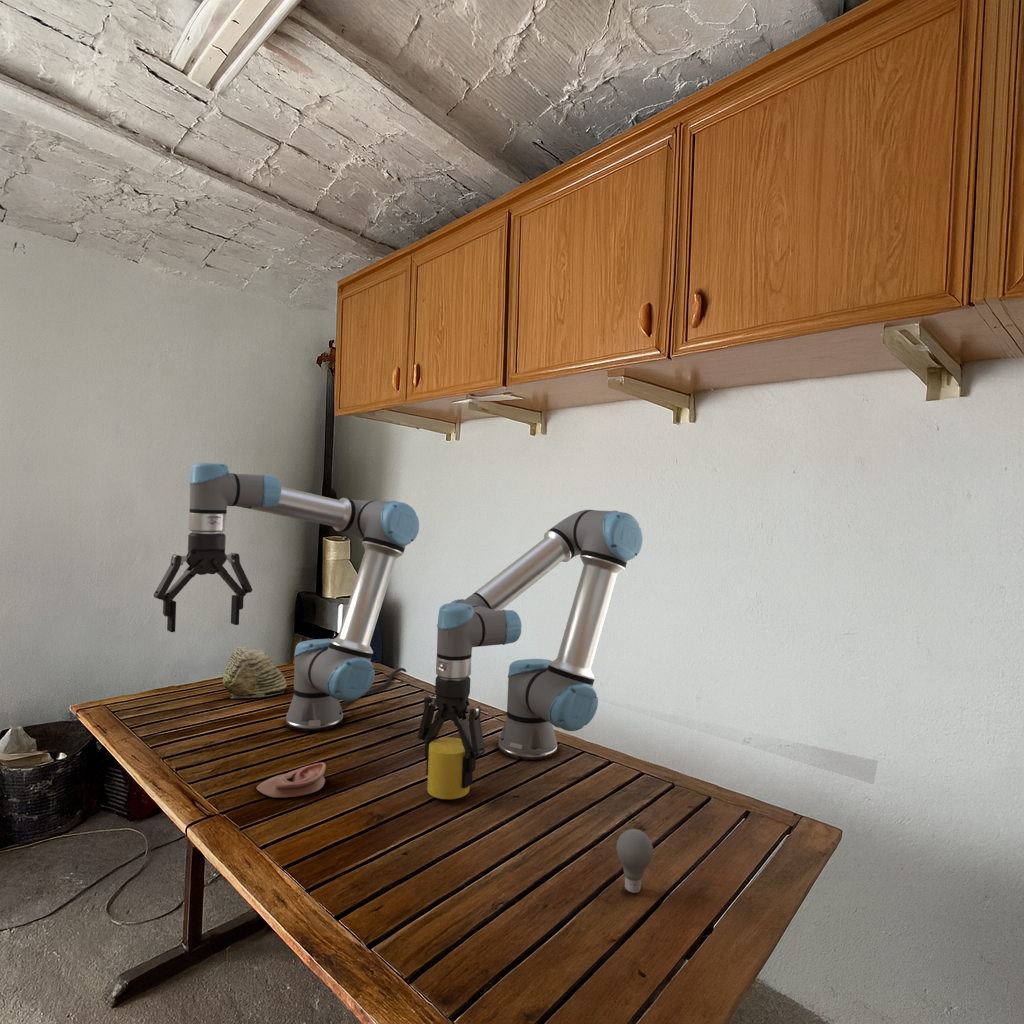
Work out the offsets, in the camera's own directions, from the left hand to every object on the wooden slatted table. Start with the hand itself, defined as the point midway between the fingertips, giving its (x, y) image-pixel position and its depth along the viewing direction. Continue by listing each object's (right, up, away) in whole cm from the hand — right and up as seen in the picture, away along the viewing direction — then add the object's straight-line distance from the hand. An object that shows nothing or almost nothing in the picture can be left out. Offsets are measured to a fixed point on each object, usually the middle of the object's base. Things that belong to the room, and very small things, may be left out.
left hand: (204, 627), depth 141 cm
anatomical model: (+21, -34, -4) cm, 40 cm away
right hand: (+55, -32, -4) cm, 64 cm away
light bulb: (+89, -38, -36) cm, 103 cm away
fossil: (-12, -32, +57) cm, 66 cm away
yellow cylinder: (+55, -34, -4) cm, 65 cm away
